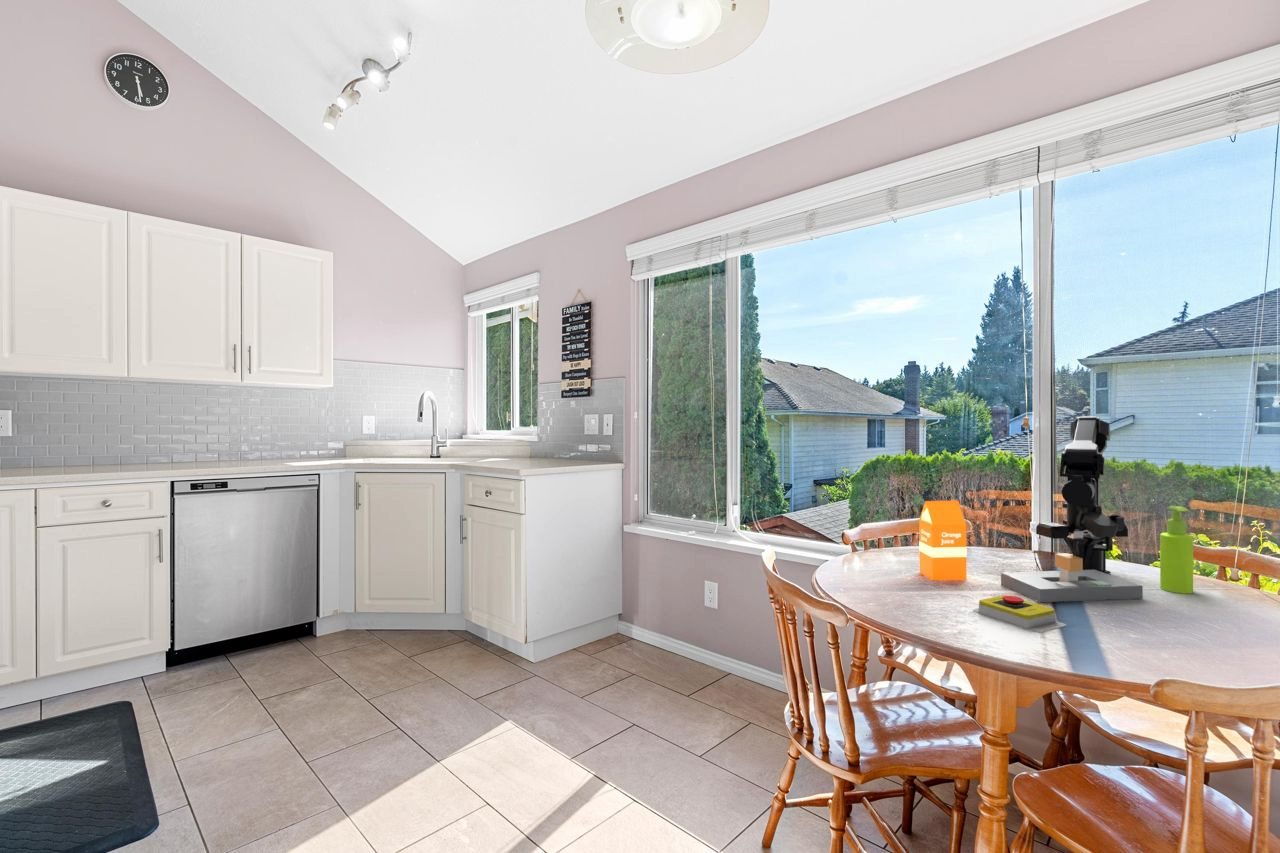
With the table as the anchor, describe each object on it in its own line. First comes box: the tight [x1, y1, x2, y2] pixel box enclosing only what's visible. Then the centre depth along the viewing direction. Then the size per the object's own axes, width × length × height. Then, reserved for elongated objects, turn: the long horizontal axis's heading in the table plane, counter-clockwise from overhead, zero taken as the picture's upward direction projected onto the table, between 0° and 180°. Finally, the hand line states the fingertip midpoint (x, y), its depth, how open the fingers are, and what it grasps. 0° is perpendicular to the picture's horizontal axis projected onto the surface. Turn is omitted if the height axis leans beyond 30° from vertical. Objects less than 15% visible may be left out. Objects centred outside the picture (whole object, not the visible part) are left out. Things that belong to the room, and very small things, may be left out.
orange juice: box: [918, 500, 968, 581], centre depth 160 cm, size 8×9×20 cm
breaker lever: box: [1054, 552, 1083, 582], centre depth 145 cm, size 3×5×7 cm, turn 2°
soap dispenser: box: [1159, 505, 1194, 594], centre depth 144 cm, size 6×7×20 cm
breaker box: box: [1000, 570, 1144, 603], centre depth 145 cm, size 24×14×3 cm, turn 92°
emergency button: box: [972, 594, 1067, 633], centre depth 128 cm, size 9×4×15 cm
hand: (1081, 565), depth 145 cm, fingers closed
